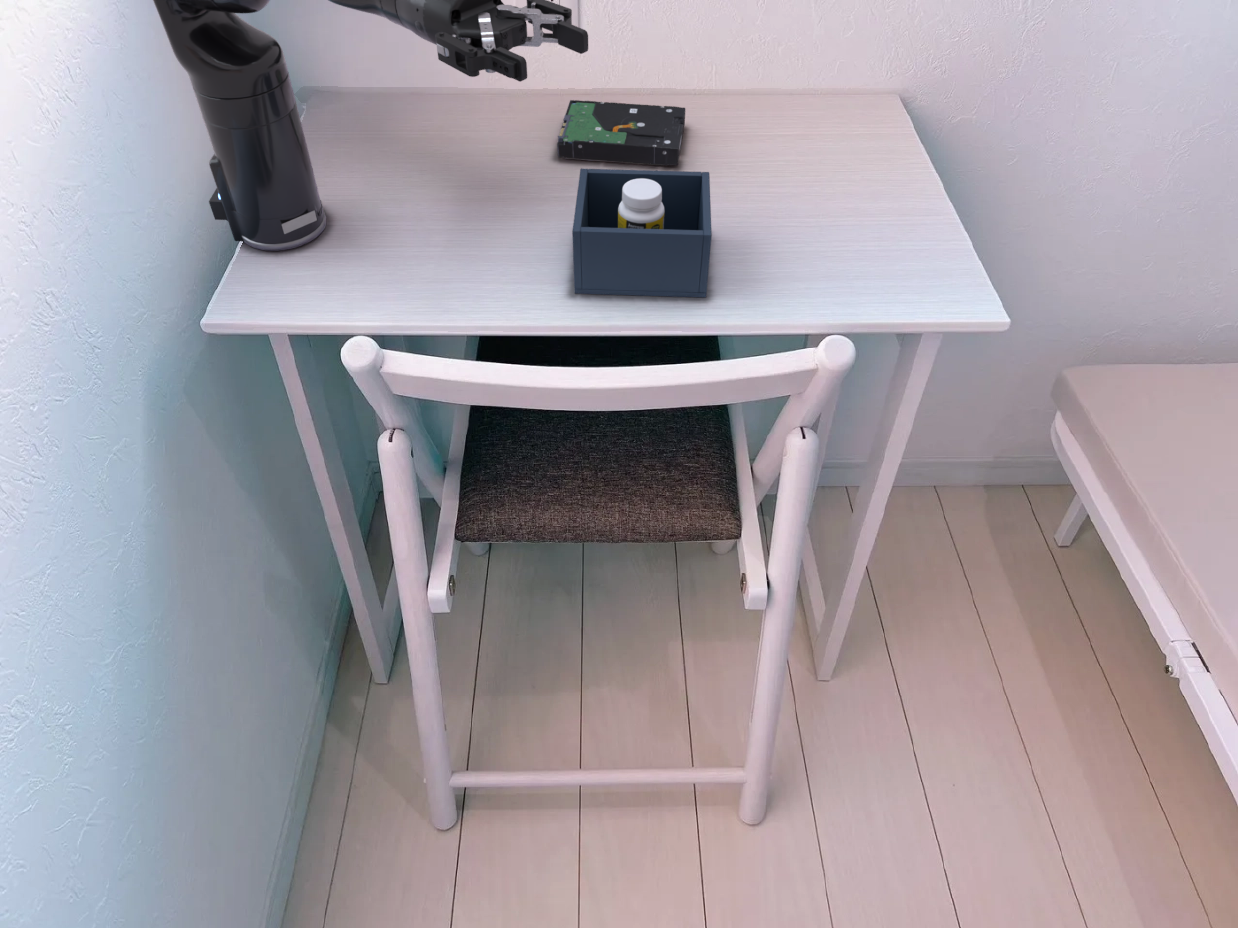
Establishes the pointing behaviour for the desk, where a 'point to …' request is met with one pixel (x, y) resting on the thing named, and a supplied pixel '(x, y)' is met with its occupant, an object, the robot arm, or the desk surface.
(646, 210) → the supplement bottle
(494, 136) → the desk surface
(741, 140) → the desk surface
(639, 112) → the disk drive
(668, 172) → the bin
